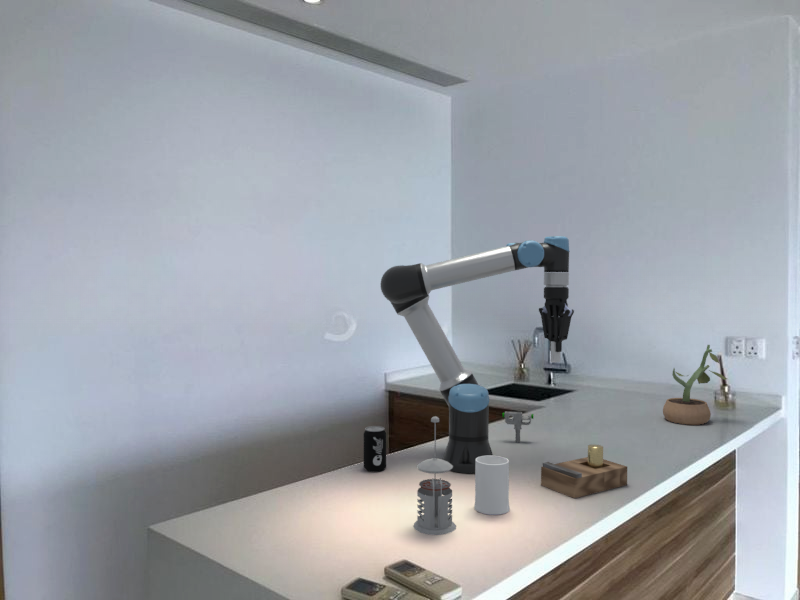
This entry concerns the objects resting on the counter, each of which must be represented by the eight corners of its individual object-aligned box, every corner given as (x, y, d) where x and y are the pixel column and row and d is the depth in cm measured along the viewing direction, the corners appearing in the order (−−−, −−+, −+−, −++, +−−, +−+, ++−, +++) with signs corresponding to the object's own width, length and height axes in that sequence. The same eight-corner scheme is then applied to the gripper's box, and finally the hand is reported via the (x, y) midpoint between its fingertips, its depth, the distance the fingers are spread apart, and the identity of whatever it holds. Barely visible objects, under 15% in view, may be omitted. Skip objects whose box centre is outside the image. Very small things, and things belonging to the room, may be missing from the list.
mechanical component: (533, 444, 218) (533, 414, 217) (502, 442, 220) (502, 412, 219) (533, 441, 221) (533, 412, 220) (502, 440, 223) (502, 411, 222)
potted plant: (659, 423, 247) (661, 345, 246) (665, 414, 263) (666, 340, 262) (726, 430, 237) (728, 348, 236) (727, 420, 253) (729, 343, 252)
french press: (453, 517, 152) (454, 411, 151) (460, 537, 141) (460, 423, 140) (411, 518, 152) (412, 411, 151) (414, 538, 140) (415, 423, 139)
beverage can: (366, 473, 186) (366, 431, 185) (361, 466, 192) (361, 426, 192) (388, 471, 188) (388, 430, 187) (383, 465, 194) (383, 425, 193)
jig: (574, 498, 165) (574, 475, 165) (541, 485, 176) (541, 463, 175) (627, 484, 176) (627, 462, 176) (592, 473, 186) (592, 452, 186)
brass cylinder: (595, 485, 175) (596, 449, 175) (584, 481, 178) (584, 445, 178) (605, 483, 177) (606, 447, 177) (594, 479, 181) (594, 443, 180)
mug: (492, 496, 167) (493, 450, 166) (522, 504, 161) (523, 456, 161) (467, 509, 158) (467, 460, 157) (497, 518, 152) (498, 467, 152)
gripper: (580, 286, 199) (579, 363, 200) (549, 285, 210) (549, 358, 211) (563, 286, 195) (562, 365, 196) (532, 286, 206) (531, 360, 207)
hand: (555, 361), depth 203 cm, fingers closed
